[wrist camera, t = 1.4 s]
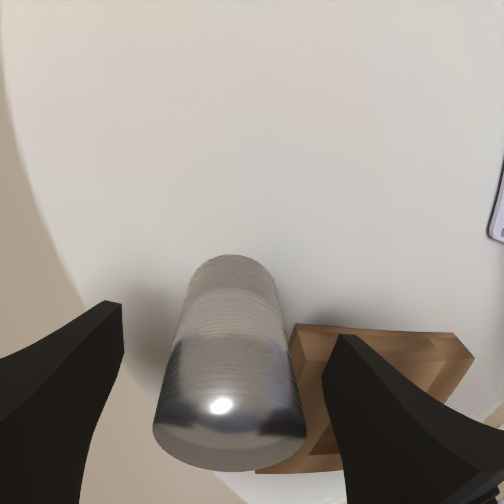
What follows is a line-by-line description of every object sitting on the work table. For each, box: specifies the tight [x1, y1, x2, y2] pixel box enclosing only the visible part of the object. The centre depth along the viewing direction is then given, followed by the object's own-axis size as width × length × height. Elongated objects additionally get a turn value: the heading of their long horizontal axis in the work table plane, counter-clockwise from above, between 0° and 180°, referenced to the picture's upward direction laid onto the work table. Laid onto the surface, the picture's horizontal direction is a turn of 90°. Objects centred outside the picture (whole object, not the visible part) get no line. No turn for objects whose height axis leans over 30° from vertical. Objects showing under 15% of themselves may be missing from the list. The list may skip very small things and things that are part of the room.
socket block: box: [255, 324, 475, 474], centre depth 14 cm, size 10×10×2 cm
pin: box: [153, 255, 307, 472], centre depth 9 cm, size 4×4×7 cm
